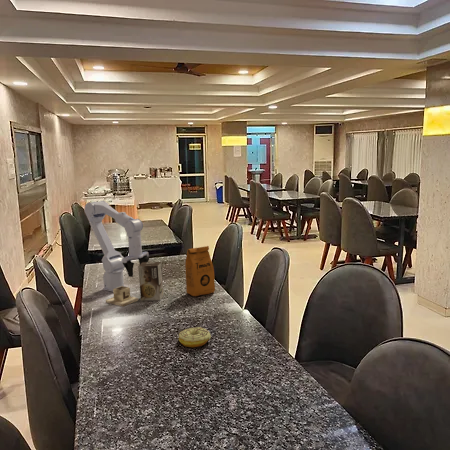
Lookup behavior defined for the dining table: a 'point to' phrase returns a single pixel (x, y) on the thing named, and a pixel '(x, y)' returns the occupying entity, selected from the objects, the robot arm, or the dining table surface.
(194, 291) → the coffee package
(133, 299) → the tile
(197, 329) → the decorated donut
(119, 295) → the letter block
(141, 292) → the coffee box
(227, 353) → the dining table surface
